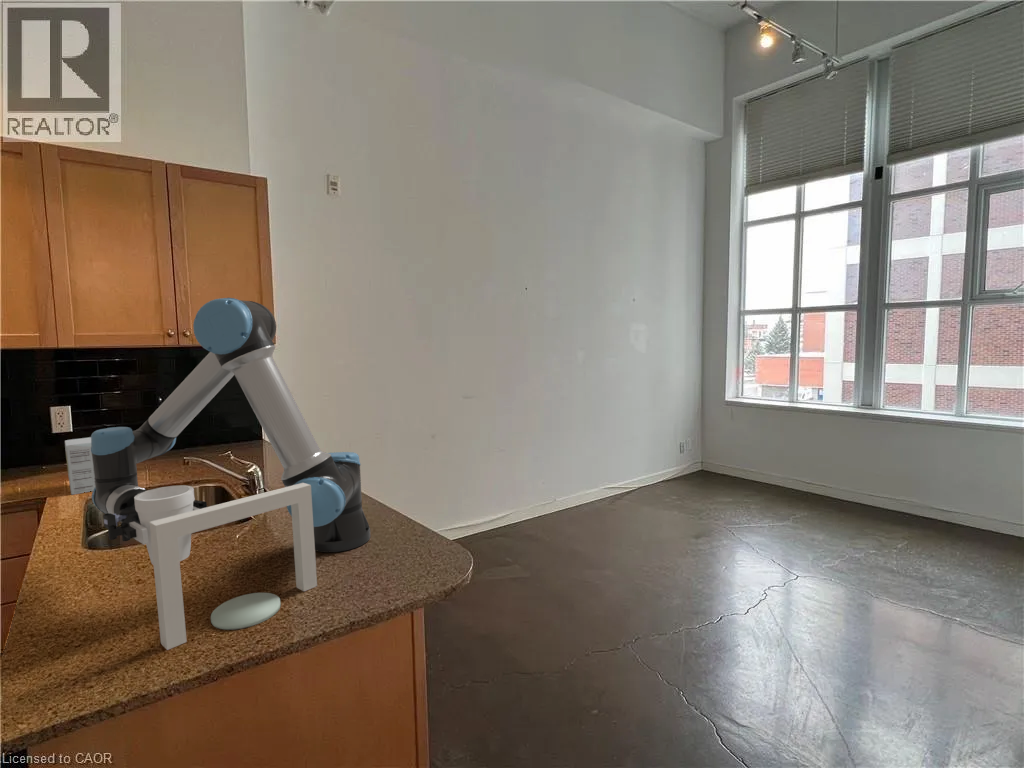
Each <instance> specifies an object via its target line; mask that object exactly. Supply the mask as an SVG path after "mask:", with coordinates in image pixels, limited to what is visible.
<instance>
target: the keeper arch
mask: <svg viewBox="0 0 1024 768" xmlns="http://www.w3.org/2000/svg"><path fill="white" fill-rule="evenodd" d="M289 505H291V512H292V516H291V522H292V523H291V524H292V540H293V556H294V568H295V569H294V571H295V583H296V585H295V586H296V588H297V589H299V590H301V591H302V592H306V591H308V590H311V589H313V588H315V587H318V578H317V562H316V560H317V559H316V551H315V543H314V526H313V510H312V494H311V485H309V484H306V483H300V484H296V485H292V486H288V487H285V486H284V487H282V488H277V489H273V490H269V491H266V492H265V491H264V492H262V493H257V494H254V495H249V496H246V497H242V498H237V499H234V500H233V499H232V500H230V501H227V502H222V503H219V504H214V505H210V506H207V507H206V508H202V509H198V510H194V511H190V512H186V513H182V514H178V515H175V516H171V517H167V518H163V519H159V520H155V521H151V522H150V533H151V543H152V554H153V573H154V582H155V583H154V585H155V594H156V606H157V607H156V608H157V614H158V615H157V616H158V617H157V618H158V625H159V626H158V627H159V638H160V644H161V645H162V647H163V648H164V649H166V651H169V650H171V649H173V648H176V647H178V646H181V645H182V644H183V645H184V644H186V643H187V642H188V640H187V639H188V638H187V630H186V628H187V627H186V619H185V608H184V594H183V586H182V573H181V564H180V562H181V561H180V560H179V549H178V538H177V537H180V536H184V535H187V534H191V535H192V534H194V533H196V532H201V531H205V530H208V529H211V528H214V527H215V528H216V527H218V526H222V525H225V524H230V523H233V522H235V521H236V522H237V521H240V520H243V519H247V518H250V517H254V516H257V515H260V514H261V515H262V514H264V513H267V512H271V511H274V510H278V509H282V508H285V507H286V508H287V506H289ZM280 609H281V598H280V597H279V596H278V595H276V594H274V593H271V592H252V593H247V594H243V595H239V596H236V597H233V598H231V599H229V600H226V601H224V602H223V603H221V604H220V605H218V606H217V607H216V608H215V609H214V610H213V611H212V613H211V614H210V623H211V624H212V626H213V627H215V628H216V629H218V630H219V629H220V630H225V631H226V630H227V631H230V630H232V631H233V630H240V629H246V628H250V627H252V626H257V625H258V624H261V623H264V622H266V621H267V620H269V619H270V618H272V617H274V615H276V614H277V613H278V611H280Z"/></svg>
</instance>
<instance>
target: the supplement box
mask: <svg viewBox="0 0 1024 768" xmlns="http://www.w3.org/2000/svg"><path fill="white" fill-rule="evenodd" d="M64 448H65V449H64V450H65V459H66V468H67V475H68V484H69V488H70V489H69V490H70V494H71V495H79V494H83V493H84V492H85V493H90V491H91V492H93V490H94V488H95V487H96V486H95V475H94V467H93V459H92V452H91V436H89V437H82V438H72V439H67V440H64Z"/></svg>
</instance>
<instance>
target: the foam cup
mask: <svg viewBox="0 0 1024 768" xmlns="http://www.w3.org/2000/svg"><path fill="white" fill-rule="evenodd" d="M194 500H196V499H195V489H194V487H193V486H192V485H185V484H183V485H182V484H181V485H170V486H162V487H157V488H153V489H152V488H151V489H147V491H145V492H142V493H139V494H138V495H136V496H135V497H134V502H135V510H136V511H137V513H138V516H139V520H140V524H141V526H143V527H145V528H147V532H148V542H149V543H148V544H145V545H146V550H147V552H148V557H149V560H150V563H151V565H153V554H152V543H151V533H150V522H151V521H155V520H159V519H163V518H167V517H171V516H175V515H178V514H182V513H186V512H190V511H193V501H194ZM177 538H178V549H179V560H180V562H182V561H184V560H186V559H187V558H189V557H190V555H191V547H192V544H191V543H192V533H191V534H187V535H184V536H180V537H177ZM153 566H154V565H153Z"/></svg>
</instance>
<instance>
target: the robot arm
mask: <svg viewBox="0 0 1024 768" xmlns="http://www.w3.org/2000/svg"><path fill="white" fill-rule="evenodd" d="M192 325H193V326H192V327H193V328H192V329H193V333H194V337H195V339H196V341H197V342H198V344H199V345H200V346H201V347H202V348H203V349H204V350H206V351H208V354H207V355H205V357H203V359H202V360H201V361H200V362H199V363H198V364H197V365H196V366H195V368H194V369H193V370H192V371H191V372H190V373H189V374H188V375H187V376H186V377H185V378H184V380H183V381H182V382H180V384H178V386H177V387H176V388H175V389H174V390H173V391H172V392H171V394H169V395H168V397H167V398H166V399H165V400H164V401H163V402H162V403H161V404H160V405H159V406H158V408H156V409H155V411H154V412H153V413H152V414H150V416H149V417H148V419H147V420H146V421H145V422H143V424H142V425H141V426H139V428H137V429H136V430H133V429H132V427H128V426H116V427H115V426H114V427H107V428H100V429H96V430H95V431H93V432H92V433H91V435H90V437H91V452H92V459H93V467H94V475H95V486H96V487H95V488H94V490H93V491H91V492H92V494H91V500H92V503H93V505H94V506H95V507H96V508H97V509H98V511H100V512H101V513H102V514H103V513H104V514H103V525H104V528H106V529H107V533H108V539H109V541H114V540H116V539H118V537H119V536H121V539H122V542H127V541H131V539H134V540H136V542H138V543H140V544H142V545H143V546H145V545H146V544H148V543H149V542H148V532H147V528H145V527H143V526H141V524H140V520H139V516H138V513H137V511H136V510H135V502H134V497H135V496H136V495H138V494H139V493H142V492H145V491H148V489H146V488H143V487H141V486H139V482H138V469H137V464H139V463H142V462H144V461H147V460H149V459H152V458H155V457H159V456H162V455H164V454H166V453H167V452H168V451H170V450H171V449H172V448H173V447H174V446H175V444H176V442H177V437H178V436H179V435H180V434H181V433H182V432H183V431H184V429H185V428H186V427H187V426H188V425H189V424H190V423H191V422H193V420H194V418H195V417H197V416H198V415H199V414H200V412H201V411H202V410H203V409H204V408H205V407H206V406H207V405H208V404H209V403H210V402H211V401H212V400H213V398H215V396H216V395H217V394H219V392H220V391H221V390H222V389H223V388H224V387H225V386H226V384H227V383H229V382H230V381H231V379H232V378H233V377H235V379H236V380H237V382H238V384H239V386H240V388H241V390H242V392H243V393H244V395H245V397H246V400H247V401H248V403H249V405H250V407H251V409H252V411H253V413H254V414H255V416H256V418H257V420H258V422H259V424H260V426H261V427H262V430H263V431H264V433H265V435H266V437H267V439H268V441H269V443H270V445H271V447H272V448H273V450H274V452H275V454H276V456H277V457H278V460H279V462H280V464H281V465H282V468H283V473H282V474H281V477H280V479H281V483H283V485H284V487H288V486H292V485H296V484H300V483H306V484H309V485H311V494H312V510H313V526H314V543H315V552H319V553H320V552H321V553H338V552H345V551H349V550H353V549H356V548H358V547H361V546H363V545H365V544H366V543H367V542H369V541H370V539H371V527H370V524H369V522H368V520H367V517H366V515H365V513H364V512H365V511H364V509H363V503H362V501H363V498H362V482H361V481H362V479H361V465H362V464H361V462H360V455H358V453H356V452H353V451H339V452H338V451H336V452H335V451H334V452H325V451H322V450H321V448H320V446H319V444H318V442H317V441H316V438H315V436H314V435H313V433H312V431H311V430H310V429H311V428H310V427H309V425H308V423H307V422H306V419H305V418H304V416H303V413H302V412H301V410H300V408H299V406H298V404H297V402H296V400H295V399H294V396H293V394H292V392H291V390H290V388H289V386H288V384H287V382H286V380H285V379H284V377H283V374H282V373H281V371H280V369H279V367H278V366H277V364H276V361H275V359H274V357H273V353H274V352H275V349H276V345H275V344H274V342H273V341H274V338H275V337H276V334H277V322H276V319H275V317H274V314H273V312H271V310H270V309H268V307H266V306H265V305H263V304H261V303H259V302H256V301H253V300H251V301H250V300H240V299H238V298H235V297H223V298H222V297H221V298H215V299H211V300H210V301H207V302H206V303H204V304H203V305H202V306H201V307H200V308H199V309H198V311H197V312H196V314H195V317H194V320H193V324H192ZM206 507H208V505H207V501H204V500H198V499H197V500H196V499H195V500H194V501H193V511H194V510H198V509H202V508H206ZM286 509H287V512H288V513H289V515H290V516H291V517H292V512H291V505H289V506H286ZM118 523H120V526H118Z"/></svg>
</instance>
